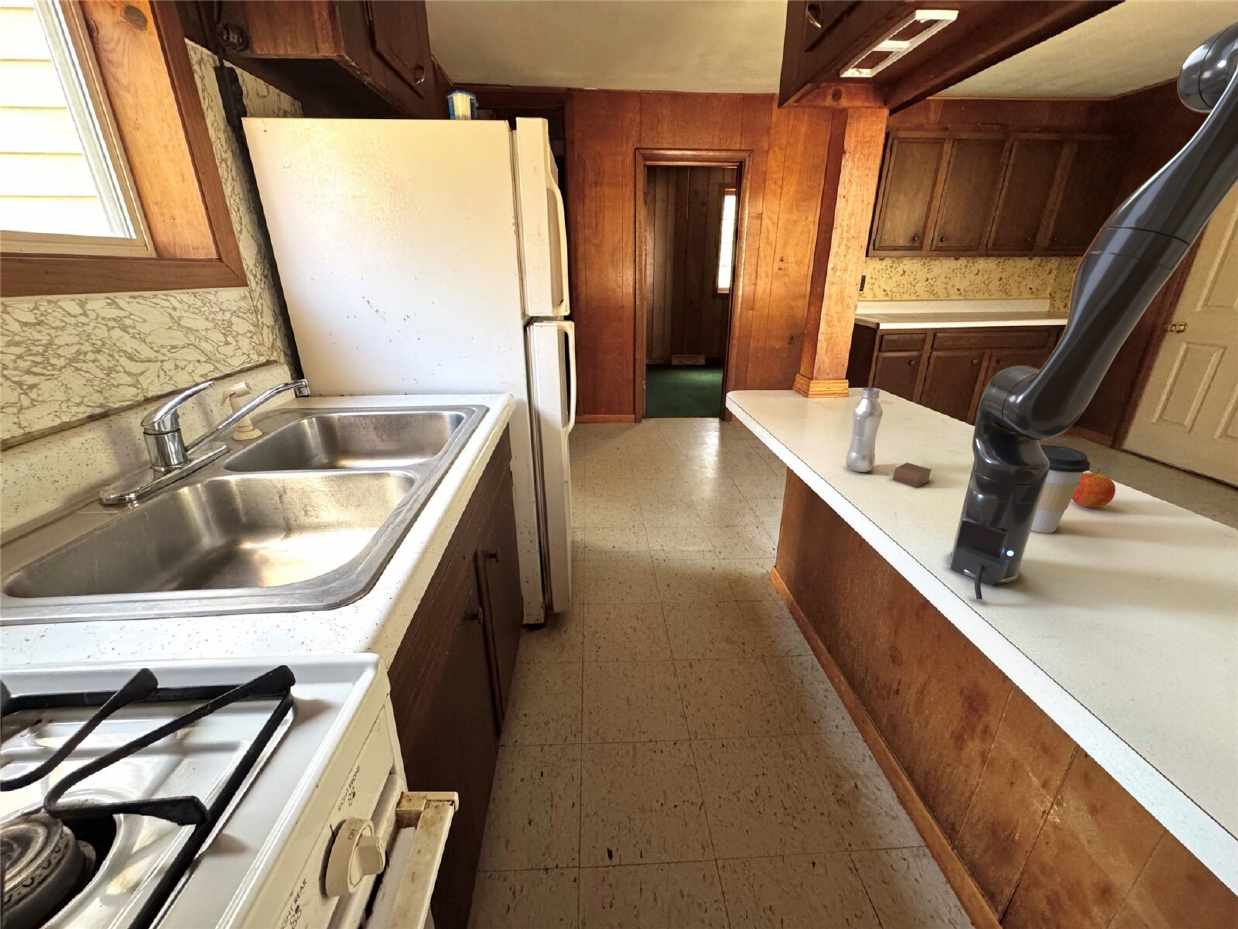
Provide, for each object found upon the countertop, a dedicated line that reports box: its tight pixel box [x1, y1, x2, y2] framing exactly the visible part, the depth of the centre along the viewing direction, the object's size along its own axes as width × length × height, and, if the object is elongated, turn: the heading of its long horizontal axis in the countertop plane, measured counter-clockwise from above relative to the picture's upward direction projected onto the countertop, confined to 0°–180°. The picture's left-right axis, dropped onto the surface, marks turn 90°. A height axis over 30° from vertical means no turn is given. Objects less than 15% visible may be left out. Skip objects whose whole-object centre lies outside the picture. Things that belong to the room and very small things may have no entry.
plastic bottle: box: [845, 387, 883, 473], centre depth 121 cm, size 6×7×20 cm
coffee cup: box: [1031, 444, 1091, 534], centre depth 94 cm, size 9×9×15 cm
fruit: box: [1071, 468, 1116, 509], centre depth 102 cm, size 7×7×8 cm
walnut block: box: [892, 462, 932, 488], centre depth 117 cm, size 6×6×3 cm
